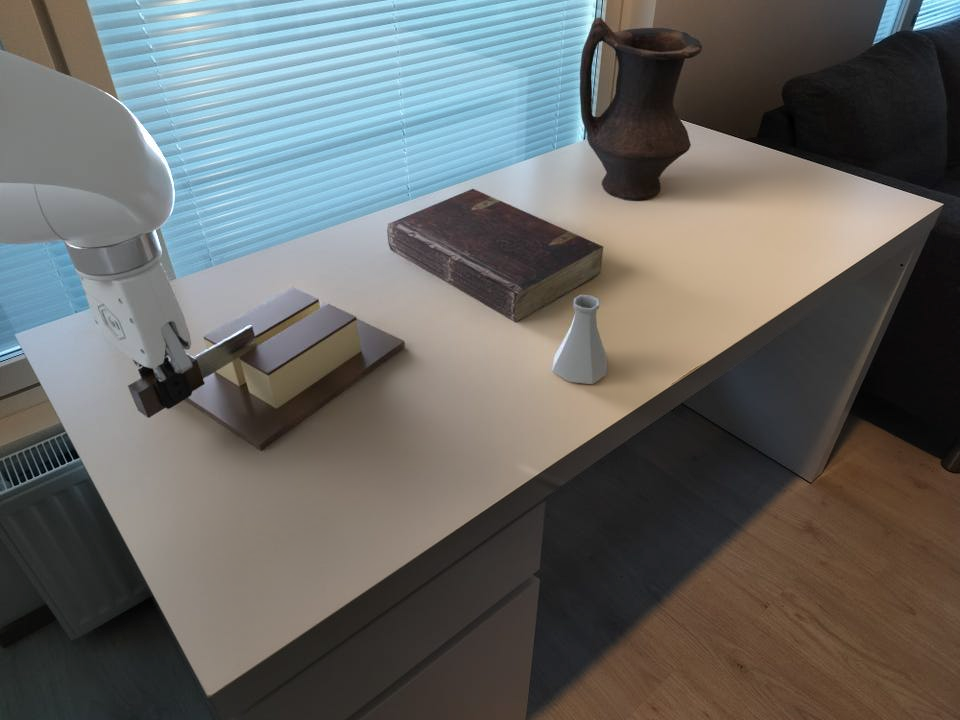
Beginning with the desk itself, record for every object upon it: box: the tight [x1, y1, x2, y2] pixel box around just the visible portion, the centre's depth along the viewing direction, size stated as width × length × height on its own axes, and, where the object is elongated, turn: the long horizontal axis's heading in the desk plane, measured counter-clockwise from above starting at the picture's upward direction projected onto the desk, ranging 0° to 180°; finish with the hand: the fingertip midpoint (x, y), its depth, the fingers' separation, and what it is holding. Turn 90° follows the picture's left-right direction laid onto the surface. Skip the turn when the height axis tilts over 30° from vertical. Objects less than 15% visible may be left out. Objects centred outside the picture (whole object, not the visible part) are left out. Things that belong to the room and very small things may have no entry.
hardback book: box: [386, 188, 604, 323], centre depth 107 cm, size 29×19×5 cm, turn 43°
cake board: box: [184, 300, 406, 451], centre depth 88 cm, size 24×18×1 cm
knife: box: [127, 325, 257, 419], centre depth 76 cm, size 15×2×4 cm, turn 143°
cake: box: [202, 286, 361, 409], centre depth 86 cm, size 14×12×5 cm
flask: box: [551, 294, 608, 385], centre depth 84 cm, size 7×7×10 cm
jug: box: [579, 16, 703, 201], centre depth 122 cm, size 21×18×30 cm
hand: (170, 395), depth 75 cm, fingers closed on knife, 2 cm apart
